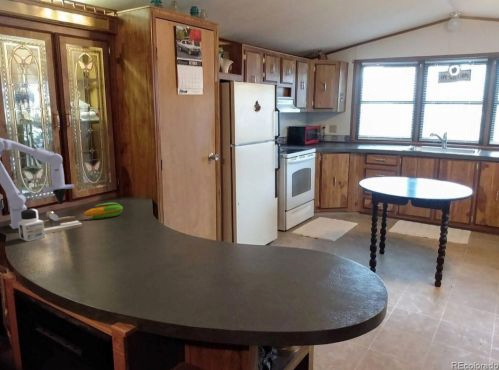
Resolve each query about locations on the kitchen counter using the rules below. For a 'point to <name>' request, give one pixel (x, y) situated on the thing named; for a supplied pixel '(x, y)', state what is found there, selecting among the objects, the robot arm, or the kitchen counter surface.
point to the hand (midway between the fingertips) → (60, 203)
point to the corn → (105, 211)
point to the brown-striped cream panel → (61, 224)
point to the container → (30, 225)
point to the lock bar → (52, 215)
